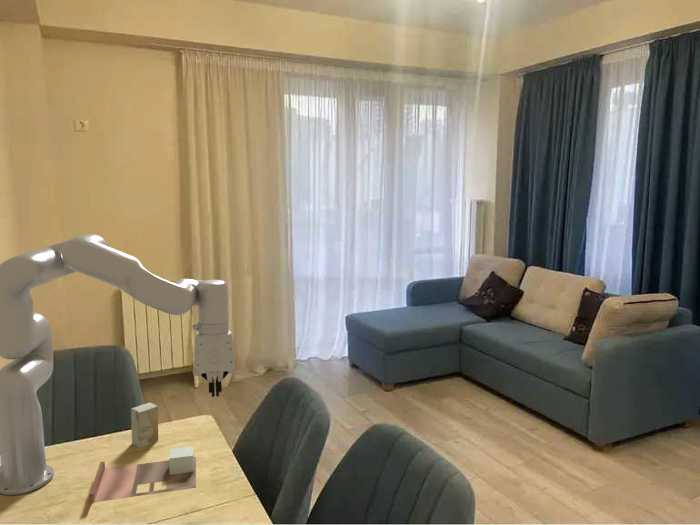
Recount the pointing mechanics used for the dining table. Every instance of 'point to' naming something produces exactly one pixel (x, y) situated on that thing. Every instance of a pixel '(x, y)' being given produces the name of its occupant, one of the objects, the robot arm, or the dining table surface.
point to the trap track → (137, 480)
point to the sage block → (181, 460)
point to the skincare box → (144, 424)
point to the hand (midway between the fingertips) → (215, 394)
